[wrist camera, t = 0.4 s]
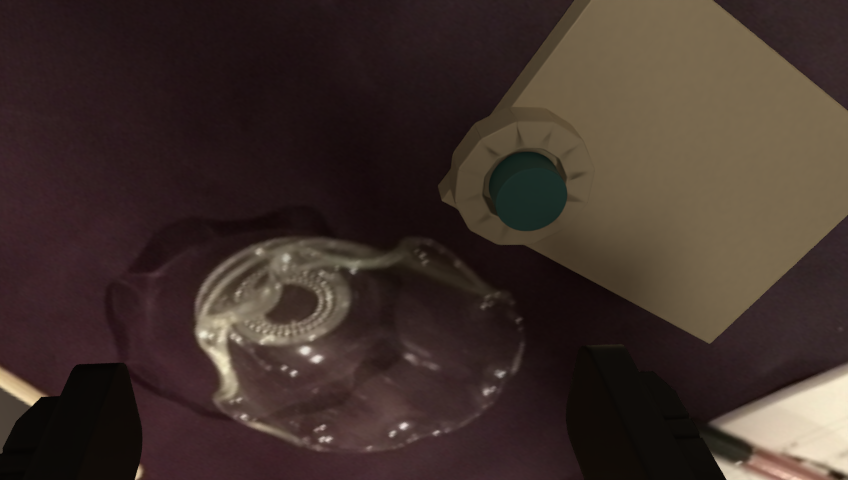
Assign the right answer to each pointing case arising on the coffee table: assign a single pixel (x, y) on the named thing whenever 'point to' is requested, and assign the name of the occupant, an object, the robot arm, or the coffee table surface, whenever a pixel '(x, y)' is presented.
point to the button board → (666, 157)
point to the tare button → (527, 191)
